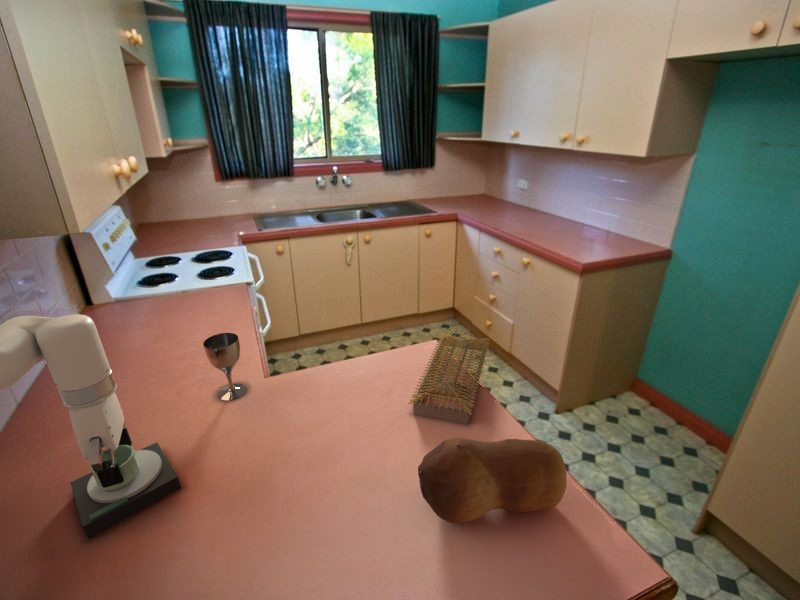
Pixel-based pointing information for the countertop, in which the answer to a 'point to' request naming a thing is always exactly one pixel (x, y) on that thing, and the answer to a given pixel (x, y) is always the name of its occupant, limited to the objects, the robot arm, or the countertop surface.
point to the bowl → (122, 465)
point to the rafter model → (449, 387)
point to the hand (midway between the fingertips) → (118, 464)
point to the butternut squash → (491, 477)
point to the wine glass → (225, 361)
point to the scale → (125, 492)
